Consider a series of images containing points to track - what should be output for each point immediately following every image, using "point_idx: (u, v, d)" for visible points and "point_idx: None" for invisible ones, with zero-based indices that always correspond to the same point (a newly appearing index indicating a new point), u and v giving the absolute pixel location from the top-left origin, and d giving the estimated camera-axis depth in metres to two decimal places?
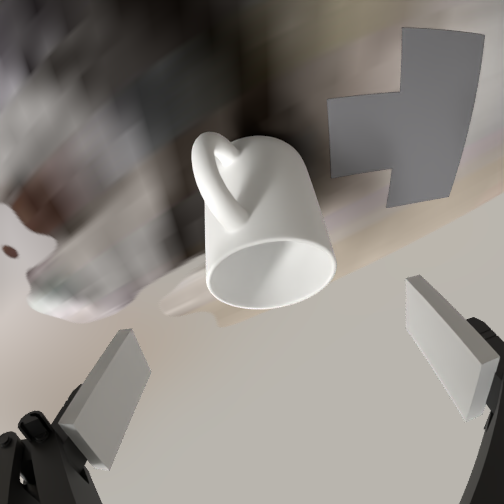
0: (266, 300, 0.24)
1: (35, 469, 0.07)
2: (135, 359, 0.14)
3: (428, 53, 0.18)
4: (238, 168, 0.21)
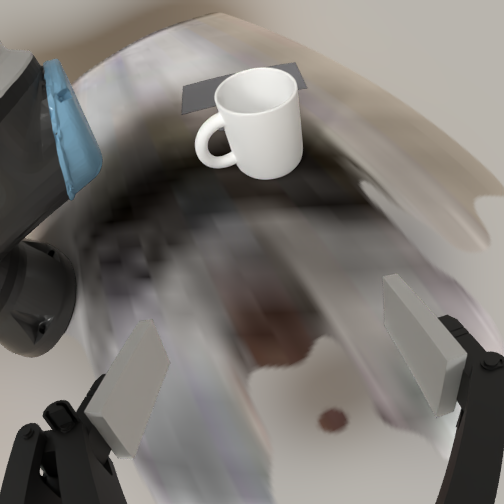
0: None
1: (57, 459, 0.07)
2: (156, 349, 0.15)
3: (194, 101, 0.46)
4: (229, 144, 0.35)
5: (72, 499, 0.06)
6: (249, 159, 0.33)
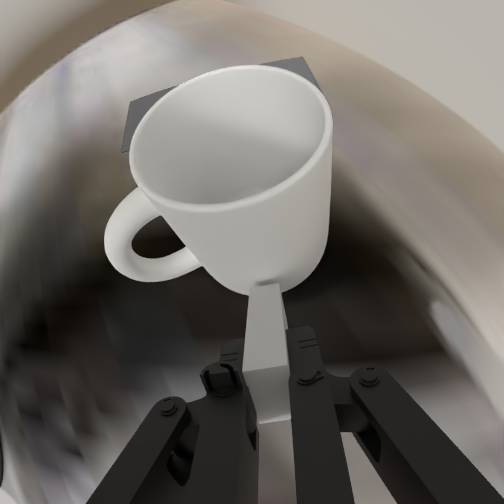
0: (324, 126, 0.12)
1: (201, 426, 0.08)
2: None
3: None
4: None
5: (203, 477, 0.06)
6: (221, 274, 0.16)
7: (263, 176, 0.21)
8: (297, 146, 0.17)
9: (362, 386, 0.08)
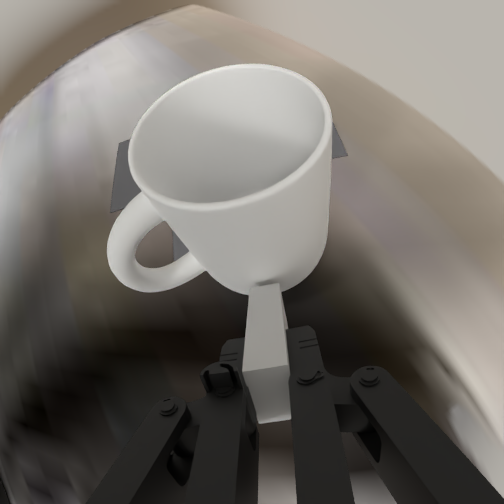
0: (322, 117, 0.12)
1: (201, 426, 0.08)
2: None
3: (133, 182, 0.25)
4: None
5: (203, 477, 0.06)
6: (228, 276, 0.16)
7: (256, 175, 0.21)
8: (290, 142, 0.17)
9: (362, 386, 0.08)
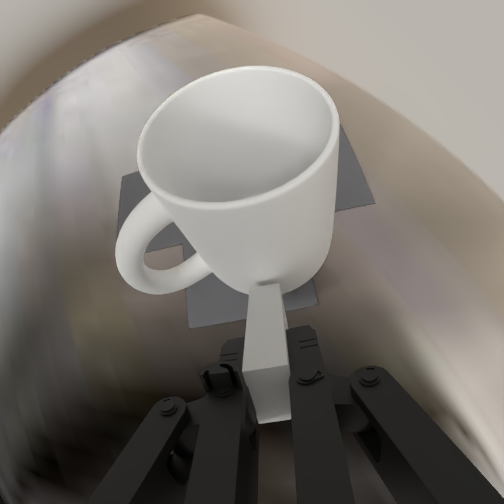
0: (329, 117, 0.12)
1: (201, 426, 0.08)
2: None
3: None
4: None
5: (203, 477, 0.06)
6: (237, 276, 0.16)
7: (260, 177, 0.21)
8: (295, 143, 0.17)
9: (362, 386, 0.08)
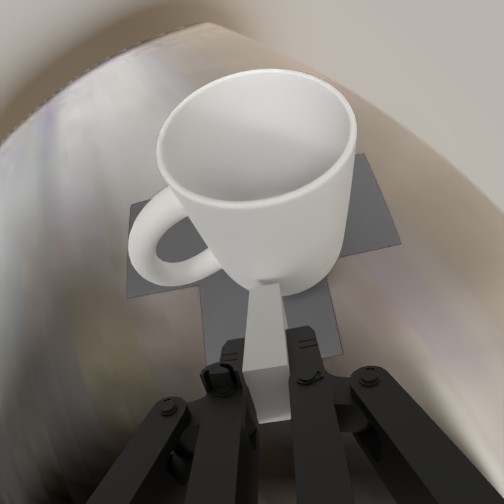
0: (347, 125, 0.12)
1: (201, 426, 0.08)
2: None
3: None
4: None
5: (203, 477, 0.06)
6: (246, 275, 0.17)
7: (276, 178, 0.22)
8: (313, 148, 0.17)
9: (362, 386, 0.08)
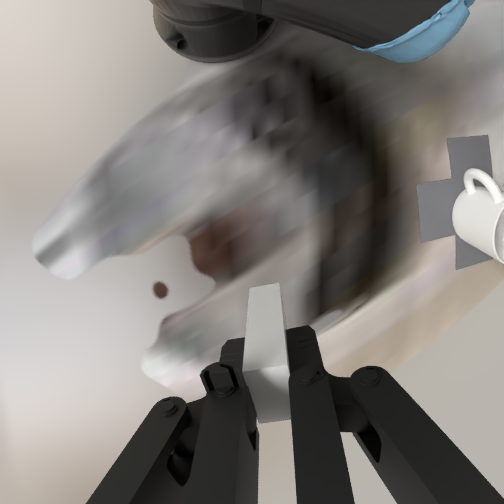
0: None
1: (201, 426, 0.08)
2: None
3: (461, 152, 0.36)
4: (480, 191, 0.33)
5: (203, 477, 0.06)
6: (466, 209, 0.34)
7: None
8: None
9: (362, 386, 0.08)
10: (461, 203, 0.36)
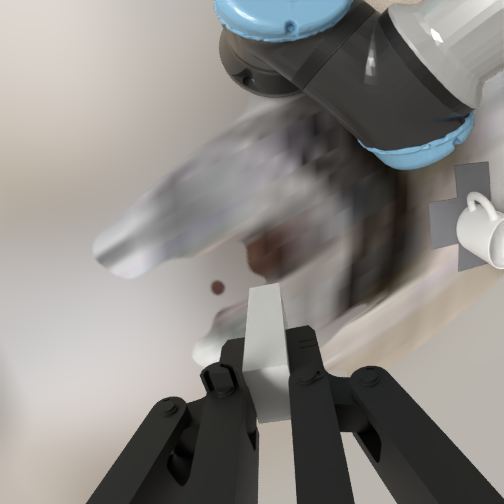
0: (500, 266, 0.39)
1: (201, 426, 0.08)
2: None
3: (466, 176, 0.44)
4: (480, 209, 0.42)
5: (203, 477, 0.06)
6: (468, 223, 0.43)
7: None
8: (498, 249, 0.43)
9: (362, 386, 0.08)
10: (464, 218, 0.45)
